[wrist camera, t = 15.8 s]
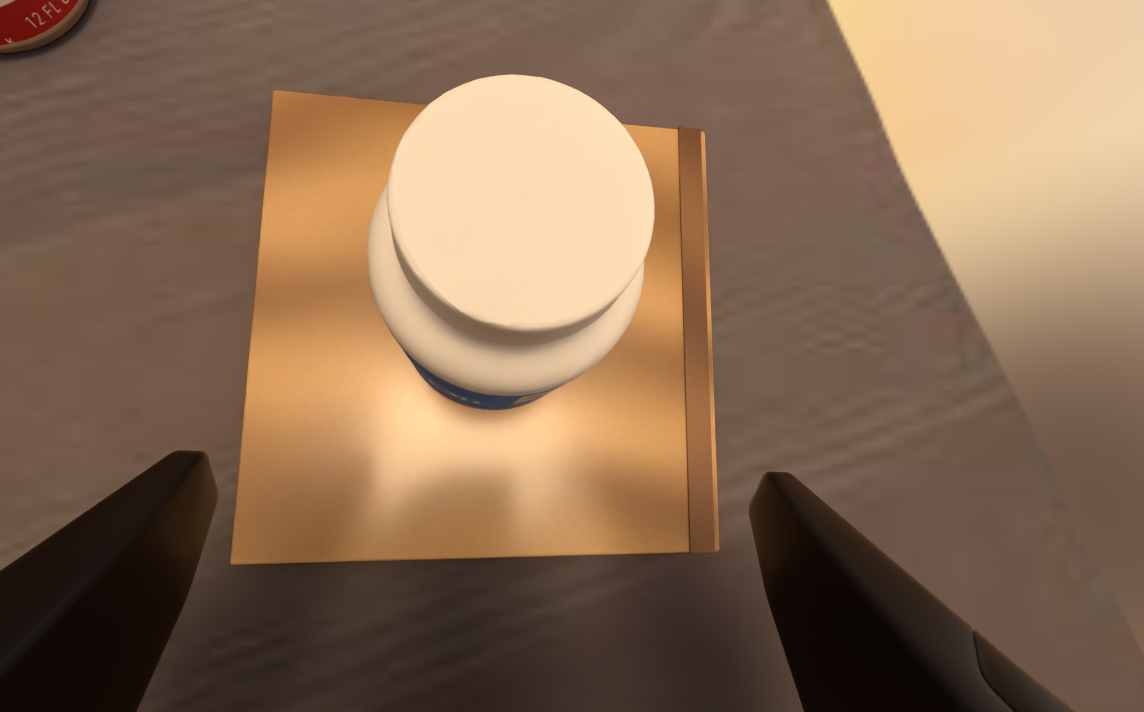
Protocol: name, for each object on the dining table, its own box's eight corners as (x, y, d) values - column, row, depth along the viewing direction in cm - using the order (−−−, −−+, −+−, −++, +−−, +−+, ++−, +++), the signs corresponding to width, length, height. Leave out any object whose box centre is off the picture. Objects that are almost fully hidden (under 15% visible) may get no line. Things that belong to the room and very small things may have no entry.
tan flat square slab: (712, 548, 19) (721, 552, 18) (237, 561, 16) (227, 565, 16) (698, 140, 21) (706, 129, 20) (278, 100, 19) (271, 87, 18)
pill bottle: (365, 304, 18) (244, 132, 8) (511, 209, 19) (554, -38, 9) (476, 451, 17) (485, 453, 8) (615, 345, 19) (766, 238, 9)
